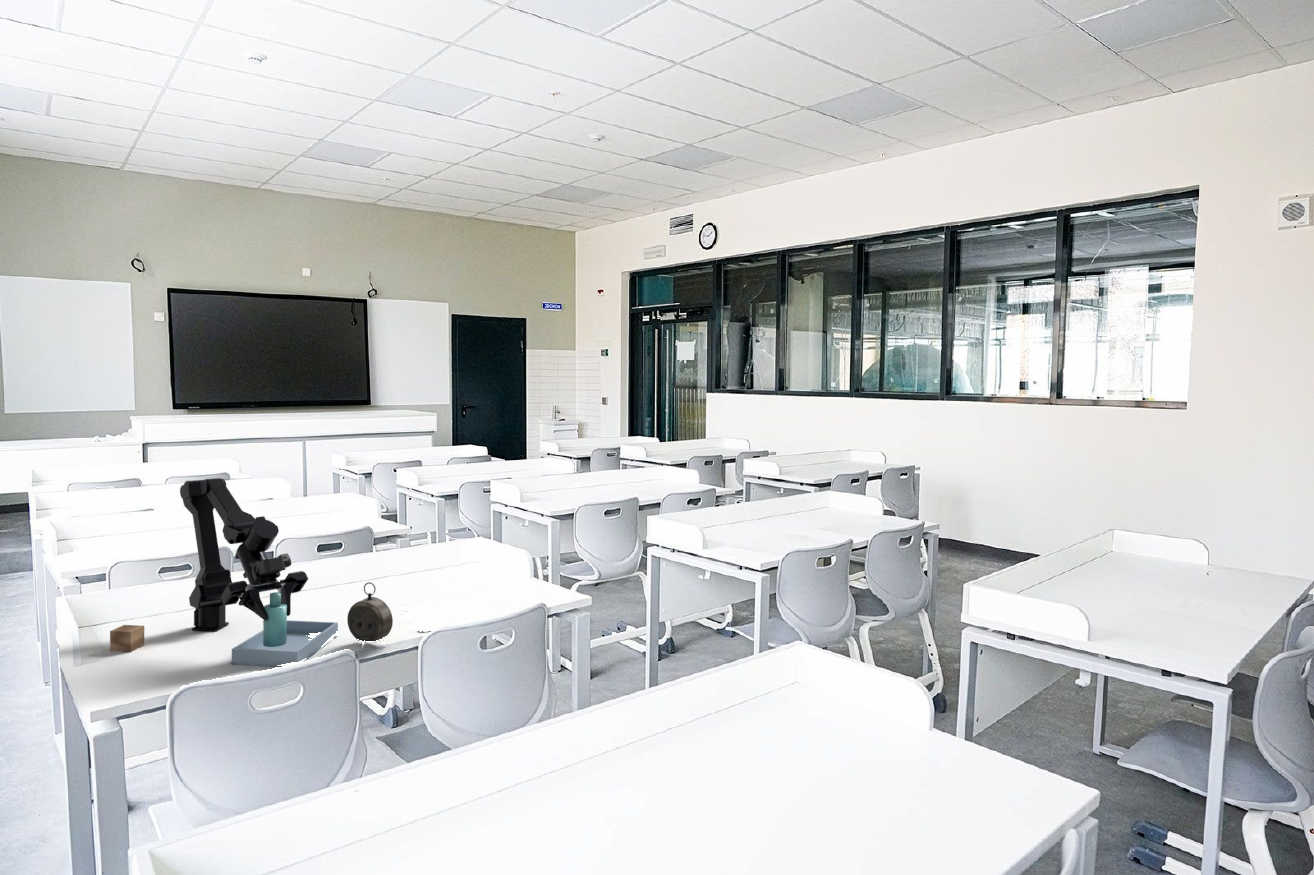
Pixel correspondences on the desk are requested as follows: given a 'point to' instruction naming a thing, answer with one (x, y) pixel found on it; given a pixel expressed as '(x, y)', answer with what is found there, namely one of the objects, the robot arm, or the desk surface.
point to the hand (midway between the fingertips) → (278, 617)
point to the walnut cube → (127, 638)
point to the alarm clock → (370, 618)
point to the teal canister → (275, 622)
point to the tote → (285, 645)
